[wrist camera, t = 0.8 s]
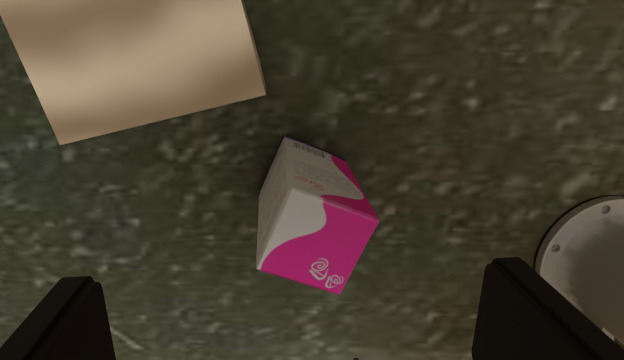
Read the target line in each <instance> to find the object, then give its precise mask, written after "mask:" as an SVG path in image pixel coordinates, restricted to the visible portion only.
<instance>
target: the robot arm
mask: <svg viewBox="0 0 624 360" xmlns="http://www.w3.org/2000/svg"><path fill="white" fill-rule="evenodd" d="M614 337H615V338H616V339H617V340H618V341H619V342H621V343H622V344H623V345H624V197H623V196H607V197H602V198H597V199H594V200H591V201H589V202H586V203H583V204H582V205H580V206H578V207H576V208H575V209H573V210H571V211H570V212H569V213H567V214H566V215H565V216H564V217H562V218H561V219H560V220H559V221H558V222H557V223H556V224H555V225H554V226H553V227H552V228H551V230H550V231H549V233H548V234H547V236H546V237H545V238H544V240H543V242H542V244H541V247H540V249H539V251H538V255H537V258H536V264H535V271H534V270H533V269H532V268H531V267H530V266H529V265H528V264H527V263H525V262H524V261H523V260H522V259H520V258H519V257H510V258H495V259H493V261H492V262H491V264H488V265H487V266H486V268H485V273H484V279H483V285H482V291H481V297H480V303H479V309H478V315H477V321H476V327H475V333H474V339H473V345H472V358H473V360H624V350H623V349H622V348H621V347H620V346H619V345H618V344H616V343H615V338H614ZM0 360H116V358H115V352H114V347H113V342H112V337H111V331H110V326H109V321H108V316H107V310H106V305H105V300H104V295H103V289H102V286H101V284H100V283H99V282H94V280H93V278H92V277H90V276H81V277H64V278H62V279H60V280H59V281H58V282H57V284H56V285H55V286H54V287H53V288H52V289H51V290H50V292H49V293H48V294H47V295H46V296H45V297H44V298H43V300H42V301H41V302H40V303H39V304H38V305H37V306H36V308H35V309H34V310H33V311H32V312H31V313H30V314H29V316H28V317H27V318H26V319H25V320H24V321H23V322H22V324H21V325H20V326H19V327H18V328H17V329H16V330H15V332H14V333H13V334H12V335H11V336H10V337H9V339H8V340H7V341H6V342H5V343H4V344H3V345H2V347H1V348H0Z"/></svg>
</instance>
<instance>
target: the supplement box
mask: <svg viewBox="0 0 624 360" xmlns="http://www.w3.org/2000/svg"><path fill="white" fill-rule="evenodd" d="M378 223H379V219H378V217H377V215H376V214H375V212H374V210H373V209H372V207H371V205H370V203H369V202H368V200H367V198H366V196H365V195H364V193H363V191H362V189H361V188H360V186H359V184H358V182H357V180H356V179H355V177H354V175H353V174H352V172H351V170H350V168H349V166H348V165H347V163H346V161H345V160H344V159H342V158H340V157H338V156H336V155H333V154H331V153H328V152H326V151H324V150H321V149H319V148H316V147H314V146H311V145H309V144H306V143H304V142H301V141H298V140H296V139H293V138H291V137H288V136H286V135H284V137H283V140H282V142H281V144H280V146H279V149H278V151H277V153H276V155H275V158H274V160H273V162H272V165H271V167H270V169H269V172H268V174H267V176H266V179H265V181H264V183H263V185H262V188H261V190H260V193H259V213H258V236H257V261H256V268H257V269H258V270H262V271H265V272H268V273H271V274H274V275H278V276H281V277H284V278H287V279H291V280H294V281H297V282H300V283H304V284H307V285H310V286H313V287H316V288H320V289H323V290H326V291H329V292H332V293H336V294H340V293H341V291H342V289H343V288H344V286H345V284H346V282H347V280H348V278H349V276H350V274H351V272H352V270H353V268H354V266H355V264H356V263H357V261H358V259H359V257H360V255H361V253H362V252H363V250H364V248H365V246H366V244H367V243H368V241H369V239H370V237H371V236H372V234H373V232H374V230H375V228H376V227H377V225H378Z"/></svg>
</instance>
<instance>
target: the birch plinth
mask: <svg viewBox="0 0 624 360" xmlns="http://www.w3.org/2000/svg"><path fill="white" fill-rule="evenodd" d="M0 15H1V18H2V20H3V22H4V24H5V26H6V28H7V31H8V33H9V35H10V37H11V39H12V41H13V44H14V46H15V48H16V50H17V52H18V55H19V57H20V59H21V61H22V63H23V65H24V68H25V70H26V72H27V74H28V76H29V78H30V81H31V83H32V85H33V87H34V89H35V92H36V94H37V96H38V98H39V100H40V102H41V105H42V107H43V109H44V111H45V113H46V115H47V118H48V120H49V122H50V124H51V126H52V129H53V131H54V133H55V135H56V137H57V139H58V142H59V144H60V145H62V144H67V143H71V142H75V141H79V140H83V139H87V138H91V137H95V136H99V135H104V134H108V133H112V132H116V131H120V130H124V129H128V128H132V127H136V126H141V125H145V124H149V123H153V122H157V121H161V120H165V119H169V118H173V117H178V116H182V115H186V114H190V113H194V112H198V111H202V110H206V109H210V108H215V107H219V106H223V105H227V104H231V103H235V102H239V101H243V100H247V99H252V98H256V97H260V96H264V95H266V85H265V81H264V77H263V73H262V69H261V65H260V62H259V58H258V54H257V50H256V46H255V42H254V38H253V35H252V31H251V27H250V23H249V19H248V15H247V12H246V8H245V4H244V0H0Z"/></svg>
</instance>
